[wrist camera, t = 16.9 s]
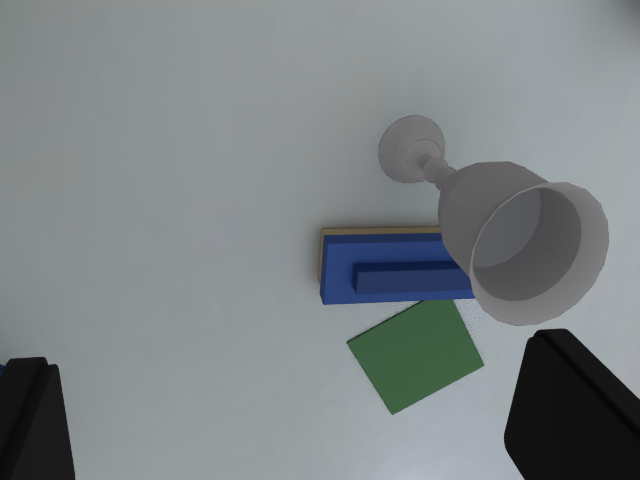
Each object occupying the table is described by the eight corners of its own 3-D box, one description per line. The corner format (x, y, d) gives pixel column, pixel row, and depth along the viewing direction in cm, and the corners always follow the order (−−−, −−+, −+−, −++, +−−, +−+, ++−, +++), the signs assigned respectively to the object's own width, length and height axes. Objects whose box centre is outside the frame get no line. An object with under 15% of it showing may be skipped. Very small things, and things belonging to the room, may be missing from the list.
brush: (315, 283, 45) (326, 315, 41) (319, 224, 43) (331, 252, 39) (468, 277, 48) (494, 307, 44) (479, 222, 46) (507, 247, 42)
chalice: (362, 108, 40) (467, 198, 24) (454, 92, 41) (616, 168, 25) (371, 204, 43) (471, 339, 27) (457, 187, 44) (602, 309, 28)
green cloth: (391, 413, 53) (392, 415, 52) (346, 342, 48) (347, 343, 48) (483, 364, 52) (484, 365, 52) (446, 287, 48) (447, 288, 48)
